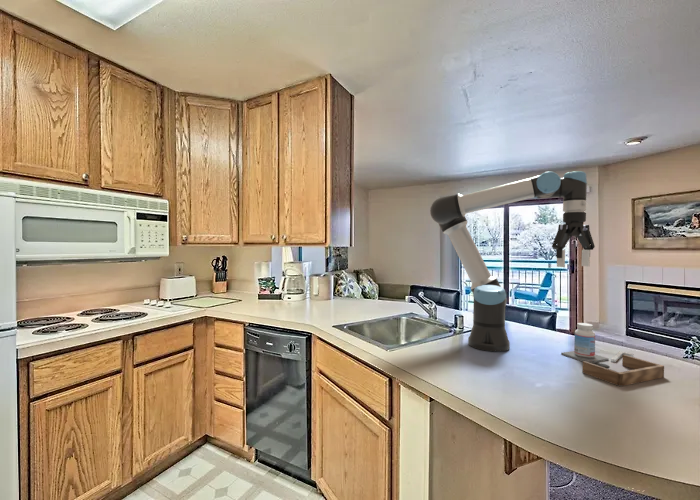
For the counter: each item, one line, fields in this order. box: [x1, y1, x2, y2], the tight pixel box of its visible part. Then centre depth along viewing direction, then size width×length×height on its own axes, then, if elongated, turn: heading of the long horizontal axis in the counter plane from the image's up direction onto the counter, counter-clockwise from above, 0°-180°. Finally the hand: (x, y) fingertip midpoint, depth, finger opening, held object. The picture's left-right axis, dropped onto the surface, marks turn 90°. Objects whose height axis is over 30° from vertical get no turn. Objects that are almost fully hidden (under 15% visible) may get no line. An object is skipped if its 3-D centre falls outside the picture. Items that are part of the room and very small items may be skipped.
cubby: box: [581, 355, 665, 387], centre depth 106 cm, size 20×11×4 cm, turn 110°
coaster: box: [560, 350, 610, 364], centre depth 122 cm, size 10×10×1 cm
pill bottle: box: [573, 322, 596, 358], centre depth 122 cm, size 6×6×11 cm
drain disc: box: [594, 362, 610, 369], centre depth 113 cm, size 4×4×1 cm
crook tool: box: [610, 351, 635, 363], centre depth 120 cm, size 4×13×1 cm, turn 131°
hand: (573, 266), depth 133 cm, fingers open, 13 cm apart
